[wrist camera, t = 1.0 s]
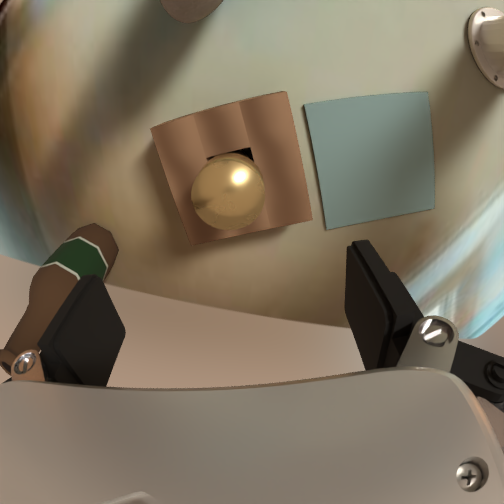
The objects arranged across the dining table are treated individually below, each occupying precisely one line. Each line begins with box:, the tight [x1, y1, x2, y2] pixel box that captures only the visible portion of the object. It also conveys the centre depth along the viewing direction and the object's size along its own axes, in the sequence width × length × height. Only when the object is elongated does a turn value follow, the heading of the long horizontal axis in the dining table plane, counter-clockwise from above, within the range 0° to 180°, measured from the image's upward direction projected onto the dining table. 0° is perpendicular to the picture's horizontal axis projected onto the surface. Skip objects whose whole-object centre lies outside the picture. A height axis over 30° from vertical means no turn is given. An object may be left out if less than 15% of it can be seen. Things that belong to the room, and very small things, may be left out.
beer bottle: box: [0, 223, 118, 375], centre depth 31 cm, size 8×8×24 cm
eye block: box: [150, 91, 313, 246], centre depth 33 cm, size 14×14×5 cm
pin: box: [191, 150, 265, 230], centre depth 30 cm, size 6×6×12 cm
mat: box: [304, 92, 435, 230], centre depth 34 cm, size 16×16×1 cm
